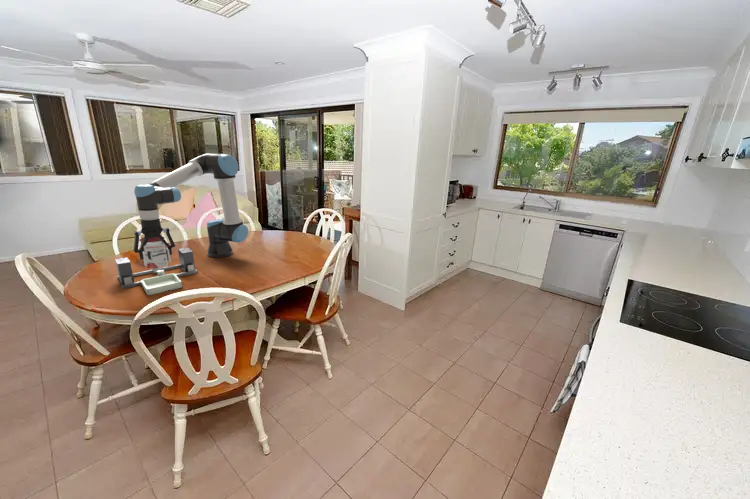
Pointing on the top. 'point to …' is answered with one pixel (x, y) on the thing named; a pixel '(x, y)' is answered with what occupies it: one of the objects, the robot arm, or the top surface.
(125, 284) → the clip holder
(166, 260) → the ink box
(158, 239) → the canister
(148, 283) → the tray
